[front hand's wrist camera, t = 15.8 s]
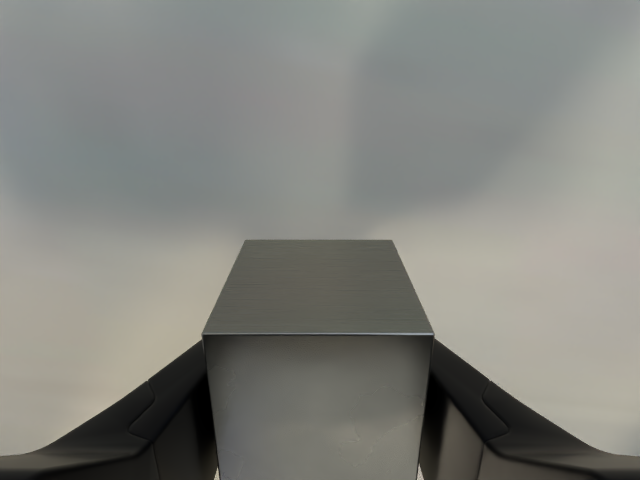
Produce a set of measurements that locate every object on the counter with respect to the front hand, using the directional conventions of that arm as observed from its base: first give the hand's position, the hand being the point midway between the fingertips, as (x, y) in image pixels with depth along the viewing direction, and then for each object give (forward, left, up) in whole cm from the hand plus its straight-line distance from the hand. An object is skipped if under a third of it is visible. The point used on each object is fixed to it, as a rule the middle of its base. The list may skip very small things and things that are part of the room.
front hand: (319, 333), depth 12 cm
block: (0, 0, -1) cm, 1 cm away
